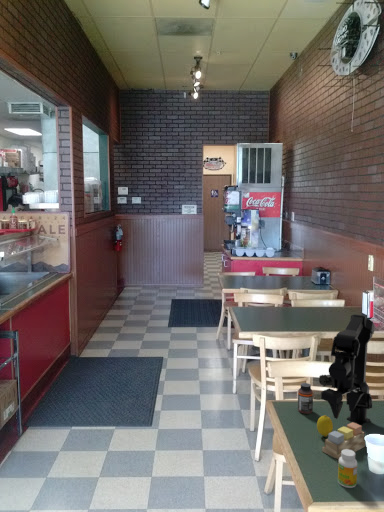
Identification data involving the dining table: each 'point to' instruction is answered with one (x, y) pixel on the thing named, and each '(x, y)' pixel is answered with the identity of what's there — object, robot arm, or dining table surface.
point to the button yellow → (346, 432)
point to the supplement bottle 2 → (347, 469)
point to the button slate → (336, 437)
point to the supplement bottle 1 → (305, 399)
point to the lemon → (324, 425)
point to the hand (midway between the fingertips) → (343, 414)
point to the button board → (344, 445)
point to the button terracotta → (355, 428)
